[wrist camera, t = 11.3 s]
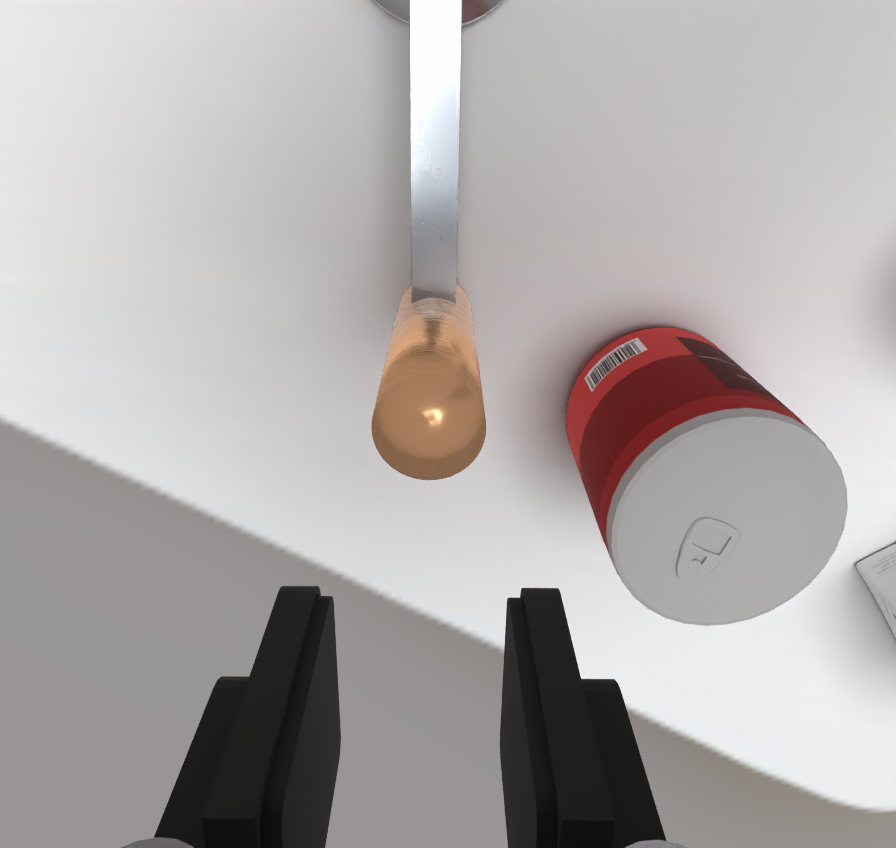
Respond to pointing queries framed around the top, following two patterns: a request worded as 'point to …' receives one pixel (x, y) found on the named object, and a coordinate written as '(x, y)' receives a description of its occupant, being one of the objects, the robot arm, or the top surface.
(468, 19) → the pivot base
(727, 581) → the canned food
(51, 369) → the top surface
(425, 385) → the double handled crank lever
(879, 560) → the supplement box
